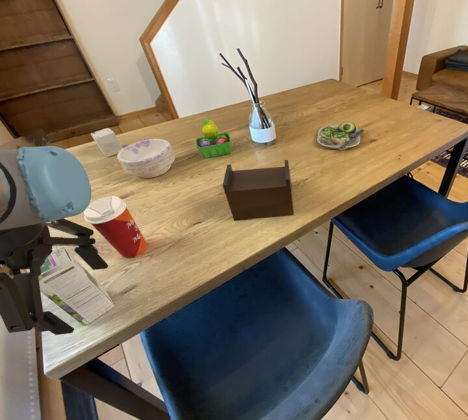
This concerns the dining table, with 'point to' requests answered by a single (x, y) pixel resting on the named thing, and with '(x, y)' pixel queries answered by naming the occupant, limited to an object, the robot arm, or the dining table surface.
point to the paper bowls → (147, 158)
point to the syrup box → (73, 287)
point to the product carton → (107, 142)
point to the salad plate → (339, 136)
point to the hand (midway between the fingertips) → (84, 296)
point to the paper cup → (116, 225)
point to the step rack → (259, 192)
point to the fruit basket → (213, 141)
